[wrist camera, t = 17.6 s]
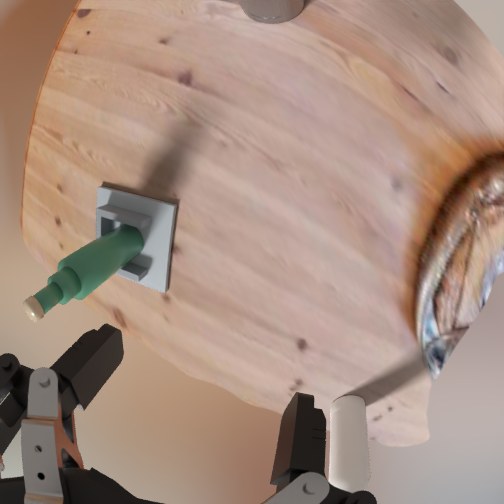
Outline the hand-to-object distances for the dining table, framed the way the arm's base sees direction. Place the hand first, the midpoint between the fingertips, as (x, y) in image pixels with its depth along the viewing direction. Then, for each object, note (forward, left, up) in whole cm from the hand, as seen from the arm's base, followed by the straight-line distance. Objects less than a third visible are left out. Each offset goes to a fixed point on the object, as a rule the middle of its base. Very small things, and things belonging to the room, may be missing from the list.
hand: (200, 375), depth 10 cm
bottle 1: (+11, -23, -29) cm, 38 cm away
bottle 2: (+36, +27, -30) cm, 54 cm away
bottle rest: (+11, -23, -30) cm, 39 cm away
